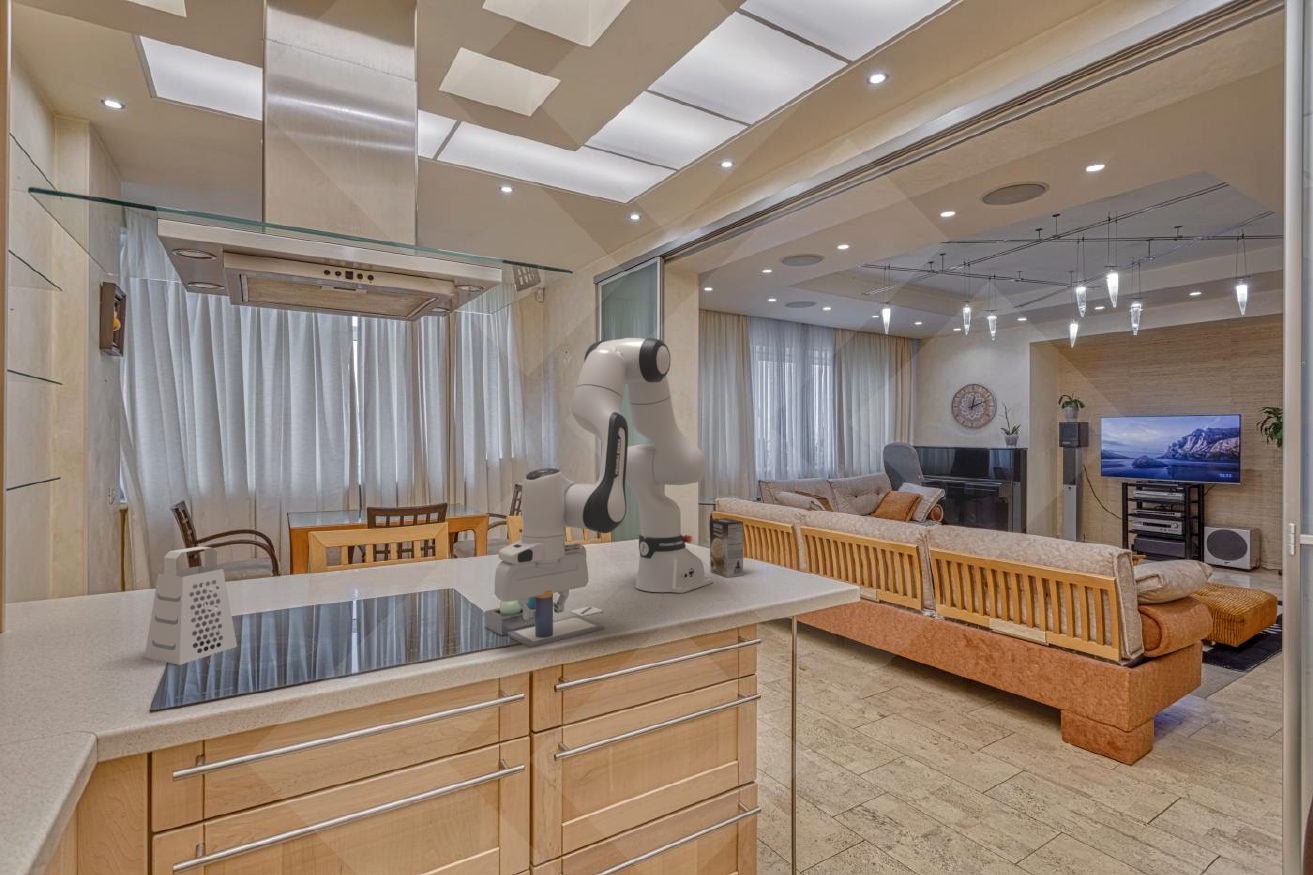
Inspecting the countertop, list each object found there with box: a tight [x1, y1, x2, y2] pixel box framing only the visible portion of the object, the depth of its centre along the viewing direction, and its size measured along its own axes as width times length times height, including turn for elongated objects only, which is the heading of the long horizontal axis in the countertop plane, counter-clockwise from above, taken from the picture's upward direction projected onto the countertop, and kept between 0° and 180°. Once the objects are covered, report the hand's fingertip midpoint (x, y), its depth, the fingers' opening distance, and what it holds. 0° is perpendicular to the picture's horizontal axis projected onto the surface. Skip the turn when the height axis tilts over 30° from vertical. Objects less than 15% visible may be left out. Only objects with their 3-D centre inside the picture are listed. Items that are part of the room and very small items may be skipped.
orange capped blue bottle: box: [534, 590, 554, 638], centre depth 127 cm, size 4×4×9 cm
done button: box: [499, 600, 521, 616], centre depth 134 cm, size 4×4×4 cm
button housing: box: [484, 607, 535, 636], centre depth 134 cm, size 8×8×4 cm
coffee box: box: [709, 517, 744, 578], centre depth 185 cm, size 9×6×16 cm
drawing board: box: [505, 615, 605, 648], centre depth 131 cm, size 18×10×1 cm, turn 130°
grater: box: [144, 546, 238, 666], centre depth 120 cm, size 10×10×20 cm
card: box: [569, 605, 604, 617], centre depth 146 cm, size 6×5×1 cm
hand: (543, 615), depth 127 cm, fingers open, 6 cm apart
